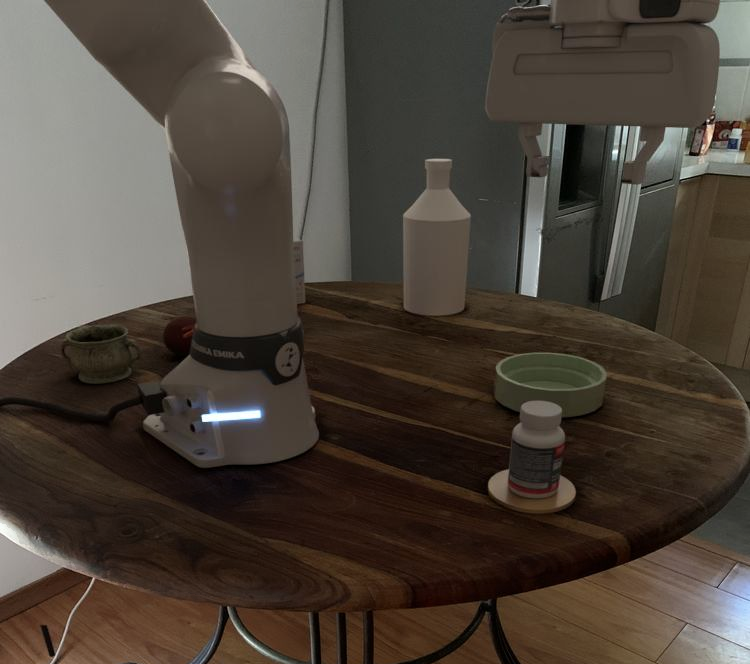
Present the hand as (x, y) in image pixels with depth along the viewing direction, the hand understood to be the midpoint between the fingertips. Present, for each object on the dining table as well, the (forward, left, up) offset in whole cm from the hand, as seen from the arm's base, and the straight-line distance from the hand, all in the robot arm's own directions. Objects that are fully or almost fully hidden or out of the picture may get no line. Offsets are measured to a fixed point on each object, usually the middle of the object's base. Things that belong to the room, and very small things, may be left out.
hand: (582, 180), depth 68 cm
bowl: (-8, +16, -29) cm, 34 cm away
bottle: (-45, +44, -29) cm, 69 cm away
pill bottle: (+2, -8, -29) cm, 30 cm away
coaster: (+2, -8, -29) cm, 30 cm away
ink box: (-70, +29, -29) cm, 81 cm away
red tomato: (-60, -1, -29) cm, 67 cm away
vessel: (-64, -14, -29) cm, 72 cm away
